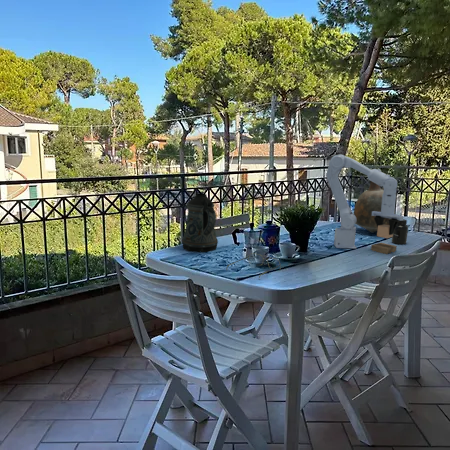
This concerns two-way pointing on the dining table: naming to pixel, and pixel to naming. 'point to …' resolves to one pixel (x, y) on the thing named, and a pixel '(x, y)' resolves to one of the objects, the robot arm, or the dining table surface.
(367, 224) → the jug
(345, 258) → the dining table surface
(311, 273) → the dining table surface
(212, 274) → the dining table surface
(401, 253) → the dining table surface
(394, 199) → the robot arm
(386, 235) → the terracotta cube
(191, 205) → the beer stein
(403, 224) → the supplement bottle
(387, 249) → the walnut base
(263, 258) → the eyeglasses
